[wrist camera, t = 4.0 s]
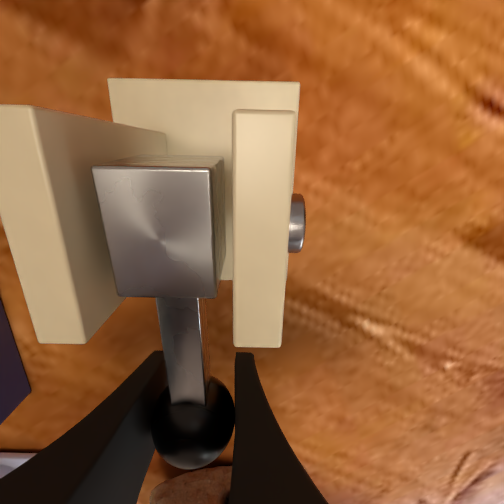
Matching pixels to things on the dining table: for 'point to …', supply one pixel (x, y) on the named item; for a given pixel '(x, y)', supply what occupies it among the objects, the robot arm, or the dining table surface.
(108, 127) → the switch box
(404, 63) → the dining table surface
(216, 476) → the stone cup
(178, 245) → the toggle
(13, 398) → the push button base
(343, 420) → the dining table surface
